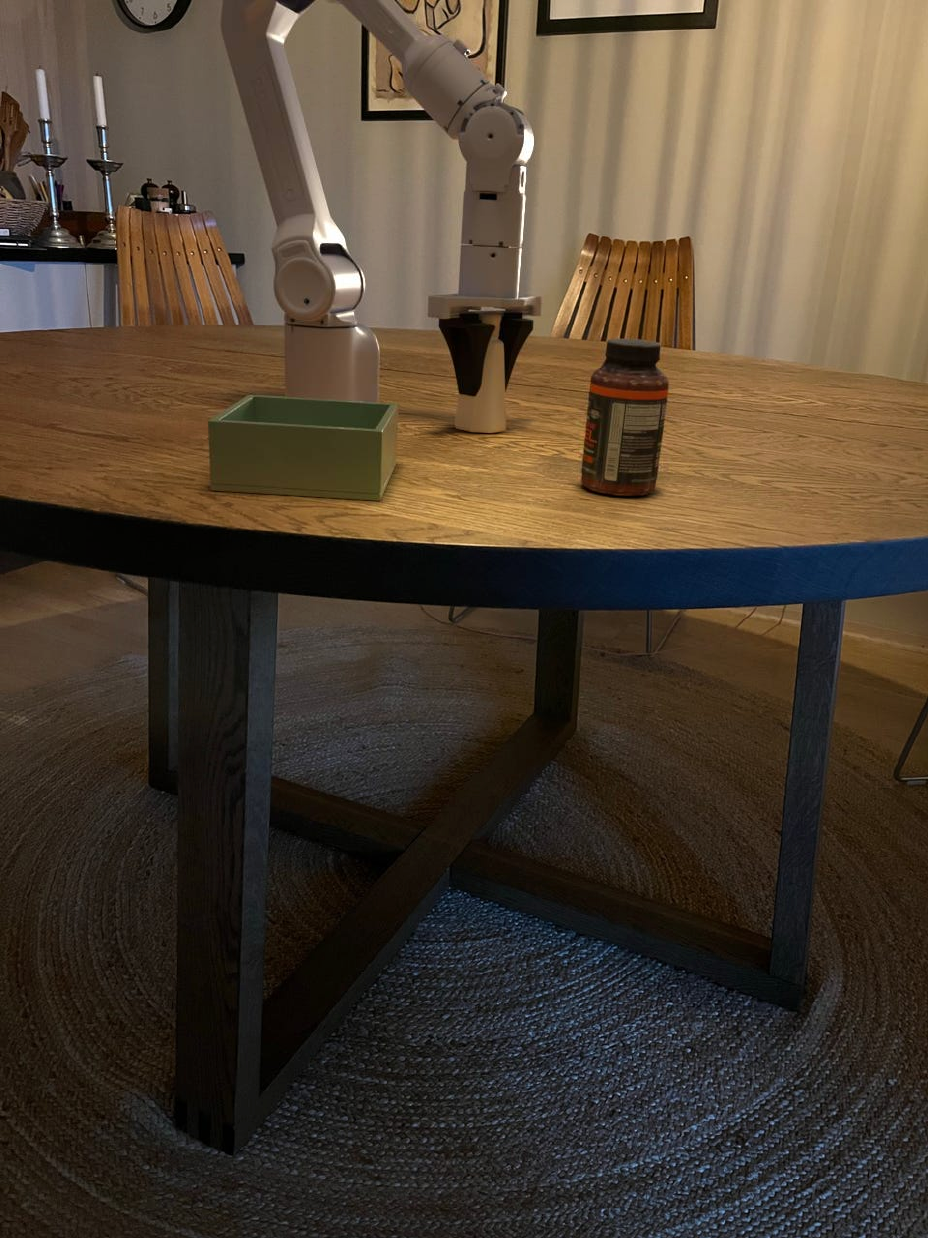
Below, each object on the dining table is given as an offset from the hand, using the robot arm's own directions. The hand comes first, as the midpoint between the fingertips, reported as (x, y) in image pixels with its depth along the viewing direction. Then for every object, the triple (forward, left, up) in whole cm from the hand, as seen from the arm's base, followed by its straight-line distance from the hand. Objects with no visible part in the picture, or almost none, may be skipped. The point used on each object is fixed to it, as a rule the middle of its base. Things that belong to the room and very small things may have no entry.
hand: (482, 393), depth 98 cm
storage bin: (+27, +6, -3) cm, 28 cm away
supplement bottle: (+10, +23, -4) cm, 25 cm away
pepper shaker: (0, 0, -4) cm, 4 cm away
